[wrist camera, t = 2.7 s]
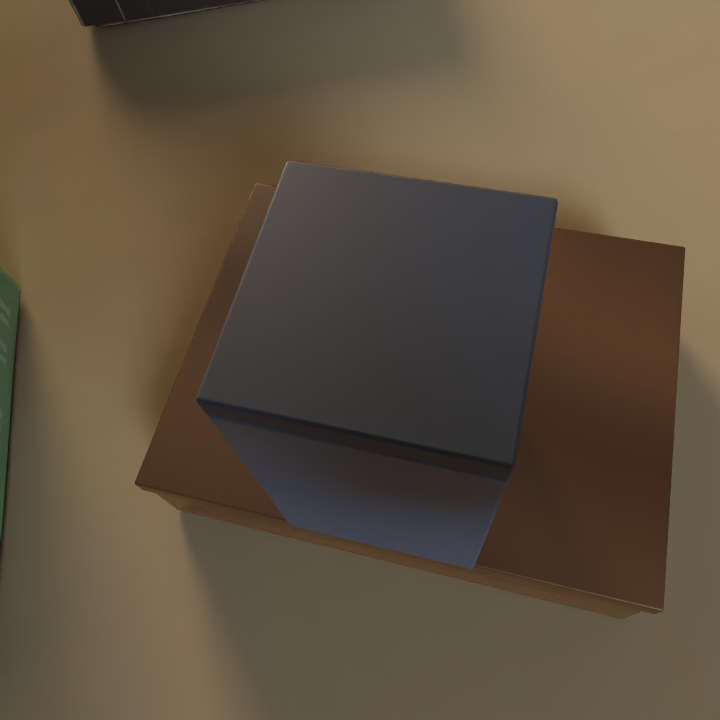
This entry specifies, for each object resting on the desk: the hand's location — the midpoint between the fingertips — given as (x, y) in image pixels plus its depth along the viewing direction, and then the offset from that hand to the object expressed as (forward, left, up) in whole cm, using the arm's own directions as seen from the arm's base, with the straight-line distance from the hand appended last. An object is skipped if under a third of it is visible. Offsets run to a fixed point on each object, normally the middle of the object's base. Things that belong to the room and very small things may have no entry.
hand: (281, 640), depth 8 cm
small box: (+4, +4, -8) cm, 10 cm away
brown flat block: (+6, +6, -11) cm, 14 cm away
